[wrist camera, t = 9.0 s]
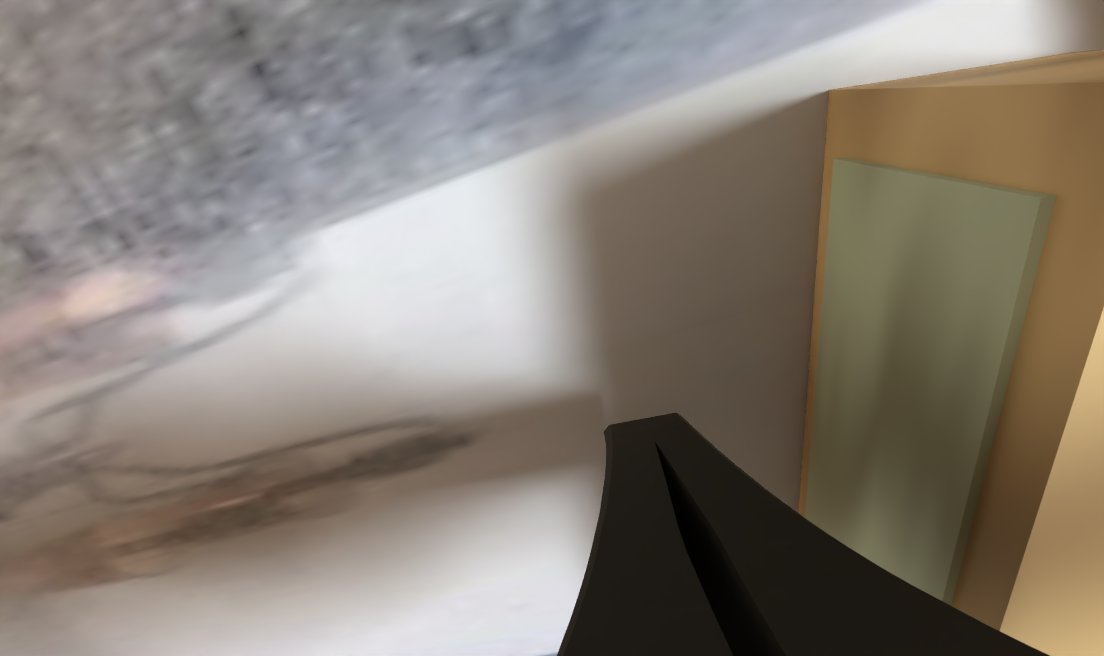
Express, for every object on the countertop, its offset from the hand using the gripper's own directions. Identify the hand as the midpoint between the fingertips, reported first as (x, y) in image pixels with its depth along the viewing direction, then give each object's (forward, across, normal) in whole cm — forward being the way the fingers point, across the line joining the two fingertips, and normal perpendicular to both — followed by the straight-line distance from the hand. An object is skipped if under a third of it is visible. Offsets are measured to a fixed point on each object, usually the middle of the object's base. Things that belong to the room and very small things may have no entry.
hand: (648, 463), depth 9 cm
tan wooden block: (+2, -6, -1) cm, 6 cm away
